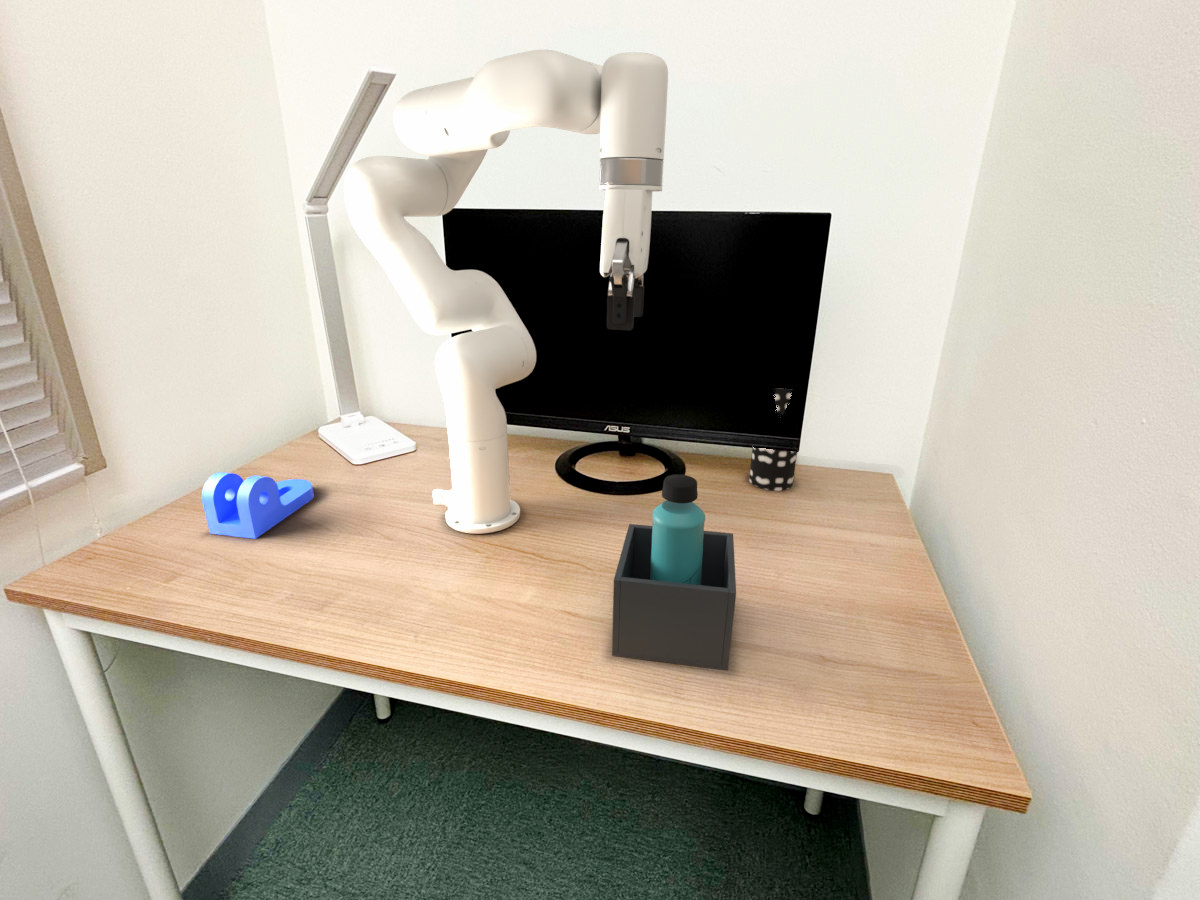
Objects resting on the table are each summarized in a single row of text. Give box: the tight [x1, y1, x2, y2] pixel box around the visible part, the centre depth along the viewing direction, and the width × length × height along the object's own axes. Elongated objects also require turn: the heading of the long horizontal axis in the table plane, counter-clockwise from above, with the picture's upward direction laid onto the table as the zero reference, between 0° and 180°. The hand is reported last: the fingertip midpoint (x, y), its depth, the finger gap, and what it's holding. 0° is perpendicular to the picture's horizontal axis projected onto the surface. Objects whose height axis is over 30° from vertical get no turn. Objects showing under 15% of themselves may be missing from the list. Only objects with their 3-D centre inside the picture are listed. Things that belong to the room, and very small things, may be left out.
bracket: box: [201, 471, 315, 540], centre depth 106 cm, size 18×8×9 cm, turn 169°
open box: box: [611, 523, 737, 671], centre depth 77 cm, size 14×14×11 cm
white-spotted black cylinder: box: [748, 388, 798, 492], centre depth 117 cm, size 8×8×20 cm
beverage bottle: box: [649, 474, 706, 585], centre depth 75 cm, size 6×7×20 cm
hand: (625, 322), depth 79 cm, fingers open, 9 cm apart
